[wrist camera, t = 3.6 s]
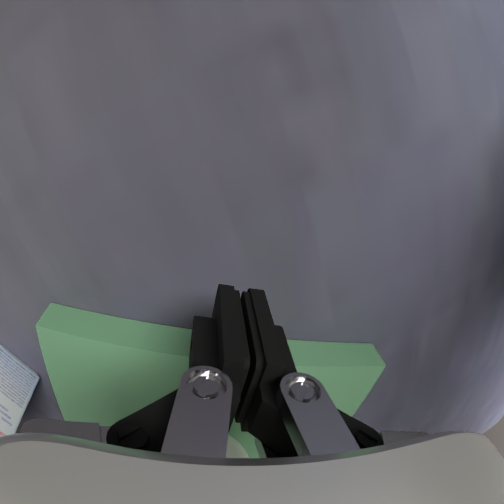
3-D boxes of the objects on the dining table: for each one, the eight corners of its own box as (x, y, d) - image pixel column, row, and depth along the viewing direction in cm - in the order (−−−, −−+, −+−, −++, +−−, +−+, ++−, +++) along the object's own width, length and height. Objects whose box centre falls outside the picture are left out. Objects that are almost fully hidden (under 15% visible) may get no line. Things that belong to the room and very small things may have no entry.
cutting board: (372, 343, 17) (386, 365, 15) (270, 492, 25) (273, 507, 23) (51, 302, 13) (35, 325, 11) (102, 478, 22) (100, 493, 20)
